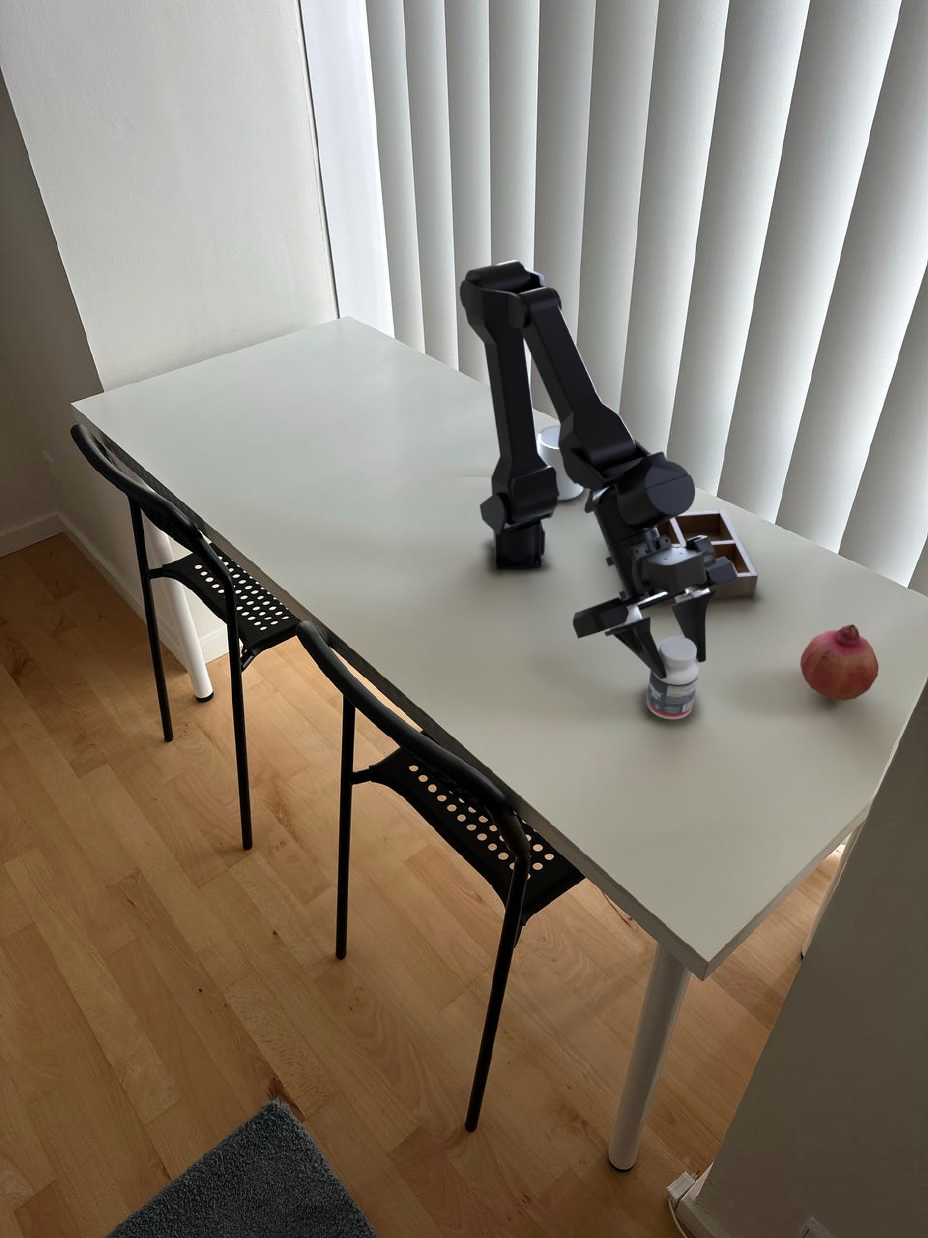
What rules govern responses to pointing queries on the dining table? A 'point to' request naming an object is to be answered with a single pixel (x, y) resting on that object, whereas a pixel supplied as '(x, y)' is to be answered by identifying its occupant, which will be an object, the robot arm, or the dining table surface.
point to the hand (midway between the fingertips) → (683, 670)
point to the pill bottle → (674, 679)
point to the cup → (557, 462)
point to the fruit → (839, 664)
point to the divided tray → (723, 544)
